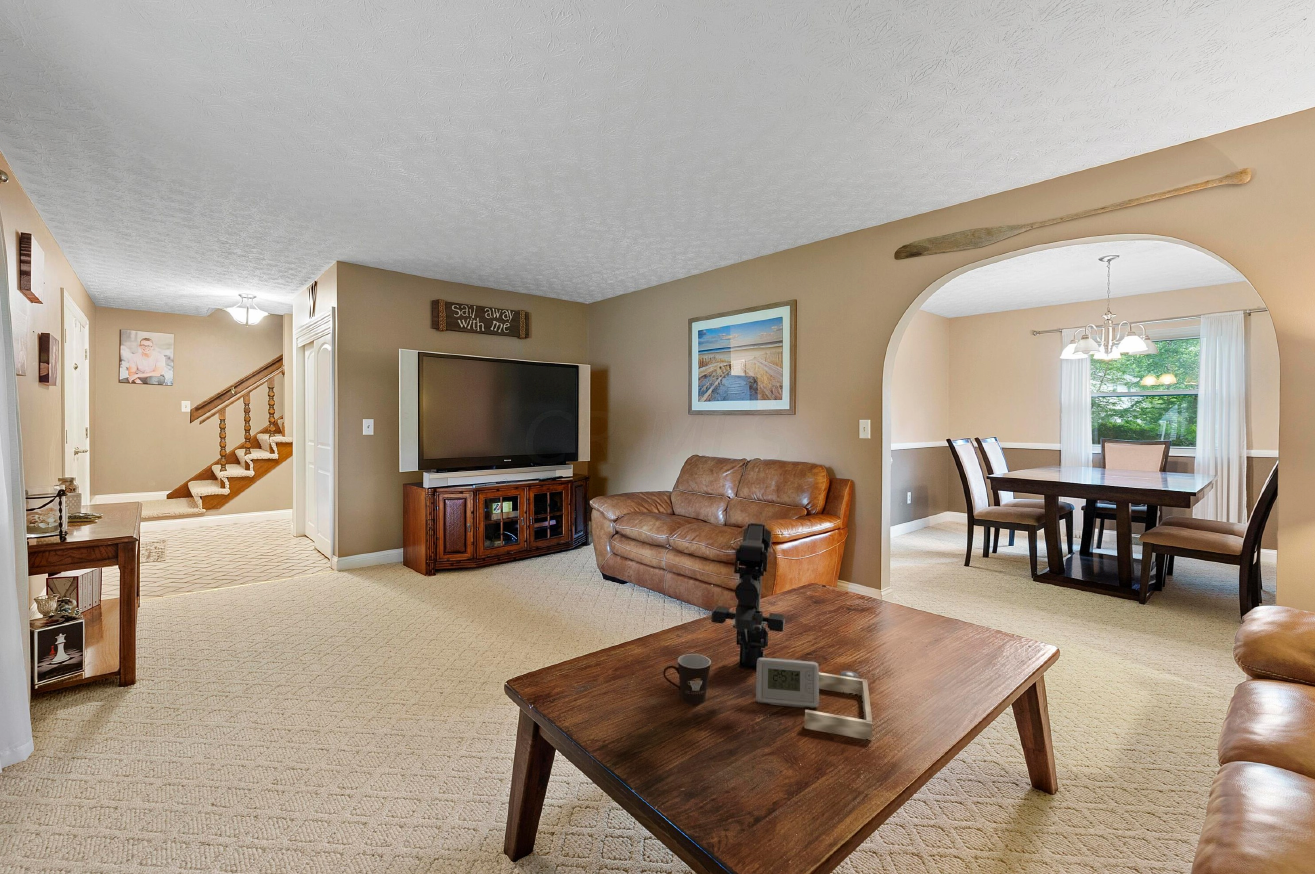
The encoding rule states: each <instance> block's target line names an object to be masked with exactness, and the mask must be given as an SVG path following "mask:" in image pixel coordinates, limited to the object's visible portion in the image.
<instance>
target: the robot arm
mask: <svg viewBox="0 0 1315 874" xmlns="http://www.w3.org/2000/svg"><path fill="white" fill-rule="evenodd" d="M771 548H772V531H770V530H769V529H768V528H766V524H764V523H756V522H750V523H748V524H747V527H746V528H745V529H743V533H742V541H740V543H739V546H738V547H736V551H735V559H734V568H733V574H738V581H737V584H736V586H735V588H734V595H735V598H736V599H737V605H736V608H735V612H734V611H730V607H729V606H720V605H716V606H715V607H714V609H713V611H712V612H711V616H710V617H711V621H710V622H712V623H716V624H724V623H725V622H726V621H727V620H733V621H732V622H733V625H732V628H733V629H736V646H739V662H738V664H737V666H738V667H739V668H746V669H752V670H756V671H757V659H758V658H765V649H766V648H767V647H768V646H769V632H768V630H770V631H773V632H779V633H780V632H781V633H782V632H784V629H785V624H786V623H785V622H786V621H785V620H786V619H785V616H784V614H783V613H782V614H781V613H774V612H769V615H768V616H764V612H763V610H761V597H762V596H761V594H762V579H763V577H764V576H765V573H767V572H768V571H767V570H768V561H769V556H768V555H769V550H770V549H771ZM765 625H767V627H765ZM767 628H768V630H767Z"/></svg>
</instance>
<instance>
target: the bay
mask: <svg viewBox="0 0 1315 874" xmlns="http://www.w3.org/2000/svg"><path fill="white" fill-rule="evenodd" d="M819 690H824V691H831V692H837V693H843V692H844V693H843V694H849V693H853V694H852V695H855V694H858V695H857V696H861V695H862V696H861V702H862V701H863V703H862V710H863V711H862V712H864V713H863V719H861V718H856V717H852V716H844V715H838V714H832V713H827V712H821V711H817V710H810V709H805V710H804V726H803V727H804V729H807V730H811V731H816V732H817V731H818V732H824V733H827V734H835V735H841V736H845V737H850V738H856V739H860V740H866V739H868V740H867V741H871V740H873V739H872V738H873V726H874V725H873V724H874V723H873V715H872V710H871V709H872V708H871V700H870V693H869V686H868V680H867V679H865V678H859V679H858V678H852V677H845V676H840V674H839V675H838V674H833V673H832V674H831V673H825V672H820V671H819Z"/></svg>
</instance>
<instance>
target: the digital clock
mask: <svg viewBox="0 0 1315 874" xmlns="http://www.w3.org/2000/svg"><path fill="white" fill-rule="evenodd" d="M819 672H820V668H819V663H817V662H815V661H805V660H801V659H791V658H790V659H789V658H779V657H771V658H768V657H764V658H758V659H757V670H756V673H755V674H756V677H755V679H756V681H755V699H756V702H758V703H761V704H769V705H770V706H771V705H772V706H784V707H793V708H818V707H819V705H820V689H819Z"/></svg>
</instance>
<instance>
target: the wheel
mask: <svg viewBox="0 0 1315 874" xmlns="http://www.w3.org/2000/svg"><path fill="white" fill-rule="evenodd" d="M839 676H845V677H852V678H858V679H860V675H859V674H858V673H857V672H854V671H851V670H843V671H841V672H840V674H839Z"/></svg>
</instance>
